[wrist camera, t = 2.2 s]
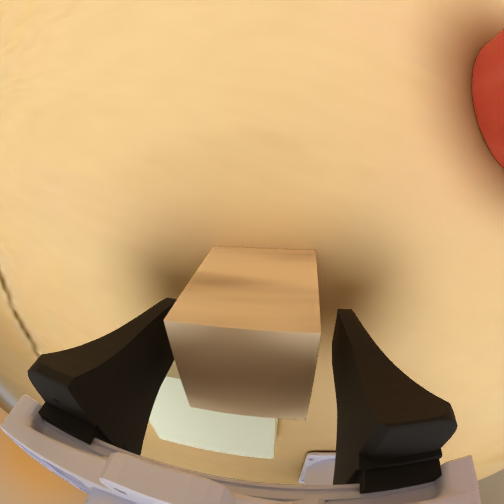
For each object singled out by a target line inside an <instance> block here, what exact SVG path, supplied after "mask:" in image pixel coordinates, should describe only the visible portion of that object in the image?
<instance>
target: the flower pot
mask: <svg viewBox="0 0 504 504" xmlns="http://www.w3.org/2000/svg"><path fill="white" fill-rule="evenodd" d="M472 95H473V102H474V108H475V113H476V117H477V121H478V124H479V127H480V130H481V132H482V135H483V137H484V140H485V142H486V144H487V146H488V147H489V149H490V151H491V153H492V154H493V156H494V157H495V158H496V160H497V161H498V162H499V163H500V165H501V166H502V167H503V168H504V30H503V31H501V32H500V33H499V34H498V35H497V36H496V37H494V38H493V39H492V40H491V41H490V42H489V43H487V44H486V45H485V46H484V47H483V48H482V49H481V50H480V52H479V54H478V56H477V58H476V61H475V64H474V68H473V75H472Z"/></svg>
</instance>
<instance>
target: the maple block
mask: <svg viewBox="0 0 504 504" xmlns="http://www.w3.org/2000/svg"><path fill="white" fill-rule="evenodd" d="M164 324H165V328H166V331H167V335H168V339H169V342H170V346H171V349H172V353H173V356H174V359H175V363H176V366H177V369H178V372H179V376H180V379H181V382H182V385H183V388H184V391H185V394H186V397H187V400H188V403H189V405H190V407H193V408H198V409H204V410H210V411H216V412H222V413H229V414H236V415H244V416H253V417H263V418H275V419H290V420H306V417H307V413H308V408H309V403H310V397H311V392H312V386H313V381H314V375H315V369H316V363H317V357H318V350H319V344H320V337H321V322H320V304H319V288H318V275H317V262H316V251H315V250H299V249H270V248H240V247H212V249H211V250H210V252H209V253H208V255H207V256H206V258H205V259H204V260H203V262H202V263H201V265H200V266H199V268H198V269H197V271H196V272H195V274H194V275H193V277H192V278H191V280H190V281H189V282H188V284H187V285H186V287H185V288H184V290H183V291H182V293H181V294H180V296H179V297H178V299H177V300H176V302H175V303H174V305H173V306H172V308H171V309H170V311H169V313H168V314H167V316H166V317H165V319H164Z"/></svg>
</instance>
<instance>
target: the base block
mask: <svg viewBox="0 0 504 504" xmlns="http://www.w3.org/2000/svg"><path fill="white" fill-rule="evenodd" d="M149 421H150V423H151V424H152V426H153V428H154V429H155V431H156V433H157V434H158V436H159V438H160V439H163V440H167V441H171V442H175V443H179V444H183V445H187V446H191V447H196V448H200V449H205V450H210V451H216V452H221V453H227V454H233V455H240V456H248V457H256V458H266V459H273V458H274V452H275V445H276V439H277V428H278V419H275V418H263V417H253V416H244V415H236V414H229V413H222V412H216V411H210V410H204V409H198V408H193V407H190V405H189V403H188V400H187V397H186V394H185V391H184V388H183V385H182V382H181V379H180V376H179V372H178V369H177V366H176V363H175V360H174V362H173V364H172V366H171V368H170V369H169V371H168V373H167V375H166V377H165V379H164V381H163V383H162V385H161V387H160V389H159V392H158V394H157V397H156V400H155V403H154V405H153V408H152V411H151V415H150V418H149Z"/></svg>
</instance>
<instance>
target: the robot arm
mask: <svg viewBox="0 0 504 504" xmlns="http://www.w3.org/2000/svg"><path fill="white" fill-rule="evenodd" d="M176 300H177V299H172V298H166V299H164V300H162V301H160V302H159V303H157V304H156V305H154V306H153V307H151V308H150V309H148V310H147V311H145V312H144V313H142V314H141V315H139V316H138V317H136V318H135V319H133V320H132V321H130V322H128V323H127V324H125V325H123V326H122V327H120V328H119V329H117V330H115V331H113V332H111V333H109V334H107V335H105V336H103V337H101V338H99V339H96V340H94V341H91V342H89V343H86V344H84V345H81V346H78V347H75V348H71V349H67V350H64V351H59V352H54V353H49V354H42V355H41V356H40V357H39V358H38V359H37V361H36V362H35V363H34V364H33V365H32V366H31V368H30V369H29V370H28V377H29V379H30V381H31V382H32V384H33V386H34V387H35V388H36V390H37V391H38V393H39V394H40V395H41V397H42V398H43V399H44V401H45V403H44V405H43V406H42V405H41V404H40V403H39V402H37V401H36V400H34V399H32V398H31V397H29V396H28V395H26V394H24V395H23V396H22V397H21V399H20V400H19V401H18V403H17V404H16V405H15V406H14V408H13V409H12V411H11V412H10V413H9V415H8V416H7V417H6V419H5V420H4V421H3V423H2V424H1V426H0V427H1V429H2V430H3V431H4V432H5V433H6V434H7V435H8V436H9V437H10V438H11V439H12V440H13V441H14V442H15V443H16V444H17V445H18V446H20V447H21V448H22V449H23V450H24V451H25V452H26V453H27V454H28V455H30V456H31V457H32V458H34V459H35V460H36V461H38V462H39V463H41V464H42V465H43V466H45V467H46V468H48V469H49V470H50V471H52V472H53V473H55V474H56V475H58V476H59V477H61V478H62V479H64V480H66V481H67V482H69V483H70V484H72V485H74V486H75V487H77V488H79V489H80V490H82V491H84V492H86V493H87V494H89V495H88V497H87V499H86V501H85V504H481V499H480V493H479V487H478V482H477V477H476V472H475V467H474V463H473V459H472V456H471V455H468V456H465V457H462V458H458V459H455V460H451V461H448V462H446V463H444V464H442V465H440V461H439V459H440V458H441V457H442V451H441V447H442V446H443V445H444V444H445V443H446V442H447V441H448V440H449V439H450V438H451V437H452V435H453V434H454V433H455V431H456V429H457V422H456V419H455V415H454V412H453V409H452V407H451V405H450V403H448V402H447V401H445V400H443V399H441V398H439V397H437V396H435V395H434V394H432V393H430V392H429V391H427V390H426V389H424V388H423V387H421V386H420V385H418V384H417V383H416V382H414V381H413V380H412V379H410V378H409V377H408V376H407V375H405V374H404V373H403V372H402V371H401V370H400V369H399V368H397V367H396V366H395V365H394V364H393V363H392V362H391V361H390V360H389V359H388V358H387V356H386V355H385V354H384V353H383V352H382V351H381V349H380V348H379V347H378V346H377V345H376V343H375V342H374V341H373V339H372V338H371V337H370V335H369V334H368V333H367V331H366V330H365V328H364V327H363V325H362V324H361V322H360V321H359V319H358V318H357V316H356V315H355V313H354V312H353V310H352V309H338V311H337V318H336V324H335V330H334V335H333V341H332V366H333V374H334V382H335V391H336V399H337V443H336V452H329V453H318V452H311V453H308V454H307V455H306V459H305V462H304V465H303V468H302V471H301V474H300V477H299V480H298V483H301V484H305V485H288V484H273V483H262V482H253V481H246V480H238V479H232V478H226V477H220V476H215V475H210V474H205V473H200V472H196V471H191V470H187V469H183V468H179V467H176V466H172V465H168V464H165V463H162V462H158V461H155V460H152V459H149V458H146V457H143V456H140V454H141V449H142V445H143V440H144V436H145V432H146V428H147V424H148V421H149V418H150V415H151V411H152V408H153V405H154V403H155V400H156V397H157V394H158V392H159V389H160V387H161V385H162V383H163V381H164V379H165V377H166V375H167V373H168V371H169V369H170V368H171V366H172V364H173V362H174V360H175V359H174V356H173V353H172V349H171V346H170V342H169V339H168V335H167V331H166V328H165V324H164V319H165V317H166V316H167V314H168V313H169V311H170V309H171V308H172V306H173V305H174V303H175V302H176Z"/></svg>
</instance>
